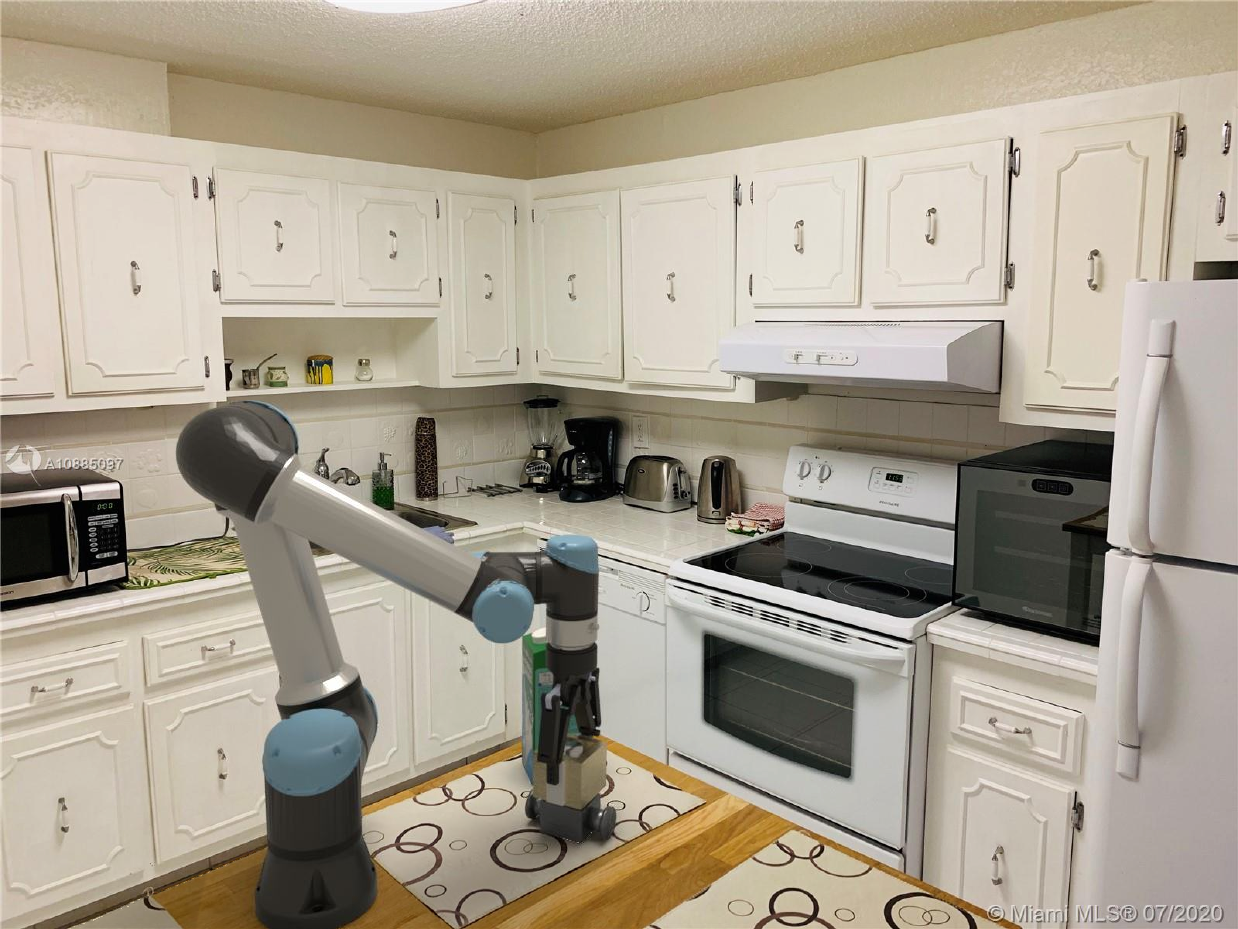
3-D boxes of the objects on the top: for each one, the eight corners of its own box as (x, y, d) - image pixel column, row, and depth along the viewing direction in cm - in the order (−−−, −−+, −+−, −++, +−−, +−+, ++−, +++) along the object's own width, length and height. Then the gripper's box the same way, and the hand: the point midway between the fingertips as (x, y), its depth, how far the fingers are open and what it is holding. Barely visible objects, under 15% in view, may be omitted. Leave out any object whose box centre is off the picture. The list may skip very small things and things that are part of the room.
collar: (532, 796, 134) (533, 751, 133) (559, 773, 142) (560, 730, 141) (581, 809, 131) (581, 763, 130) (606, 785, 138) (606, 741, 137)
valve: (522, 827, 137) (522, 745, 135) (542, 809, 143) (543, 729, 141) (599, 849, 132) (601, 763, 130) (618, 829, 137) (619, 747, 135)
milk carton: (521, 762, 158) (521, 622, 154) (572, 756, 161) (573, 618, 157) (532, 787, 149) (533, 639, 146) (586, 780, 152) (588, 634, 149)
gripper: (558, 669, 122) (557, 829, 125) (625, 626, 141) (623, 766, 144) (511, 660, 125) (510, 816, 129) (582, 618, 144) (580, 756, 147)
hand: (570, 789), depth 136 cm, fingers closed on collar, 8 cm apart
